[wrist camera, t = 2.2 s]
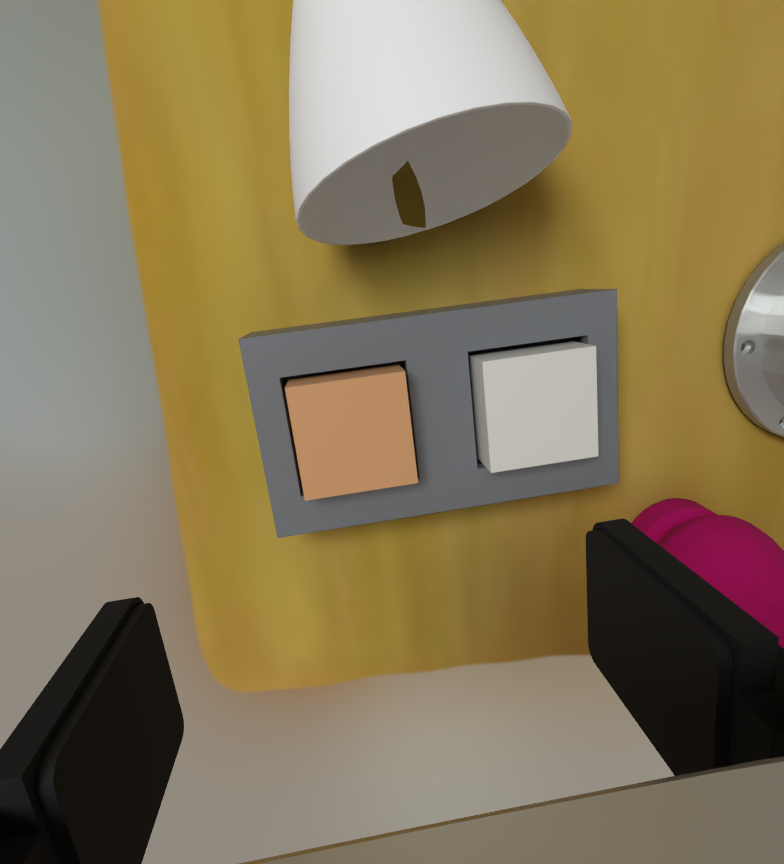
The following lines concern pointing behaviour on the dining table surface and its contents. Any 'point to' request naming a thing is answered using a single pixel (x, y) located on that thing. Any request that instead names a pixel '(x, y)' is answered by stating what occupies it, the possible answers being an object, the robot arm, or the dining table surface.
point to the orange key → (352, 431)
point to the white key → (535, 405)
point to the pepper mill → (723, 556)
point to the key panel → (430, 402)
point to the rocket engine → (412, 112)
